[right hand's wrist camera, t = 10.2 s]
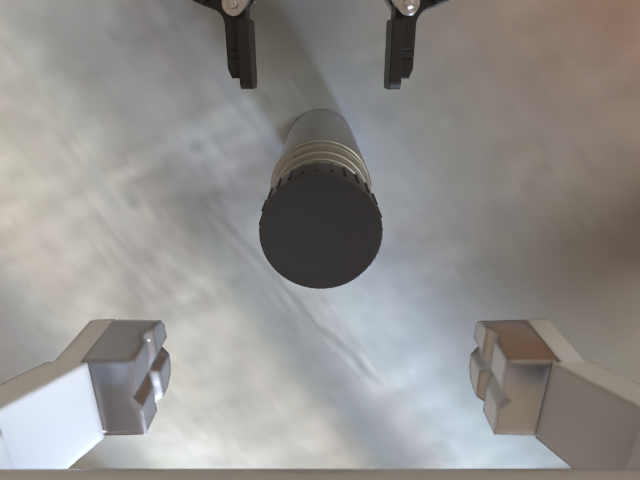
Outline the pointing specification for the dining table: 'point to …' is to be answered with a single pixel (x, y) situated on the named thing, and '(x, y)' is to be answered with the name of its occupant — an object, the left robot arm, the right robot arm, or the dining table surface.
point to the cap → (320, 226)
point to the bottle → (320, 145)
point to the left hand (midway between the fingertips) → (320, 88)
